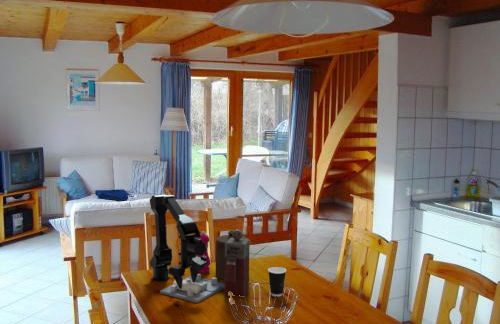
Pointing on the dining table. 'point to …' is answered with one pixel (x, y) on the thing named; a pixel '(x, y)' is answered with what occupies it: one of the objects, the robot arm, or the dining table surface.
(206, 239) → the pepper mill
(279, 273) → the dixie cup
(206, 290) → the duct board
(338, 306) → the dining table surface
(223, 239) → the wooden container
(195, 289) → the white cylinder
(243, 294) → the dark jug
